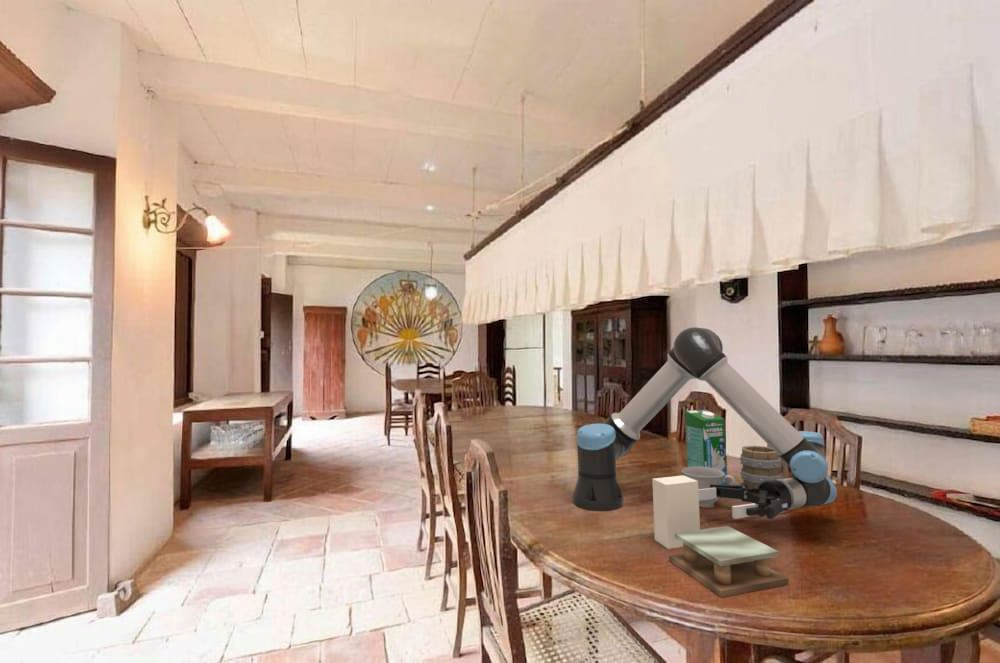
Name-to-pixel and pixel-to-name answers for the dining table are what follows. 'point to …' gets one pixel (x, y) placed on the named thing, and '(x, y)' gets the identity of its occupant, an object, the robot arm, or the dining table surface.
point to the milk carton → (706, 440)
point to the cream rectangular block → (675, 508)
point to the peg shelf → (737, 576)
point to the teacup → (706, 480)
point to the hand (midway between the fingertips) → (712, 503)
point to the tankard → (761, 466)
